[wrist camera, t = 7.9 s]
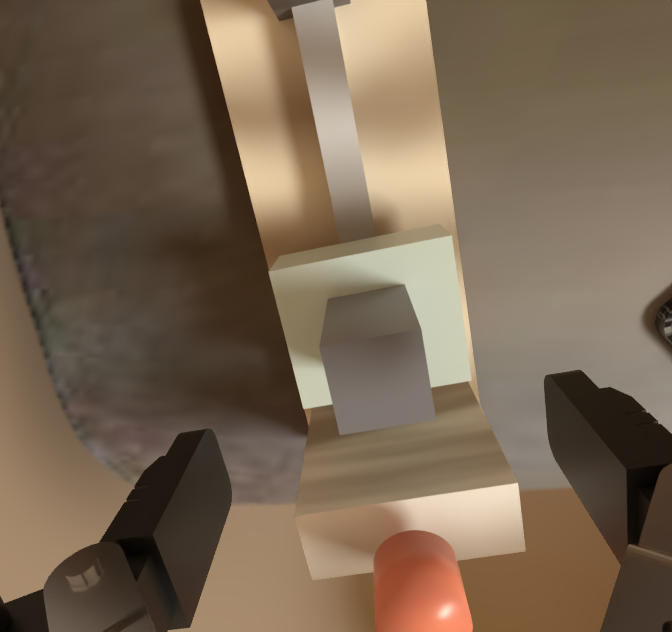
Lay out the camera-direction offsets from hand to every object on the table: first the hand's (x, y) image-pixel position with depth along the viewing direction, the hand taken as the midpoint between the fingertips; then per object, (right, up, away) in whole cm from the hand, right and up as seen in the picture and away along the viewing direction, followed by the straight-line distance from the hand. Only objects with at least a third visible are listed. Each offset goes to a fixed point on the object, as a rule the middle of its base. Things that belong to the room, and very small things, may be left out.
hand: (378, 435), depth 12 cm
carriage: (+1, +3, +10) cm, 11 cm away
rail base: (0, +7, +13) cm, 15 cm away
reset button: (+2, -5, +5) cm, 8 cm away
